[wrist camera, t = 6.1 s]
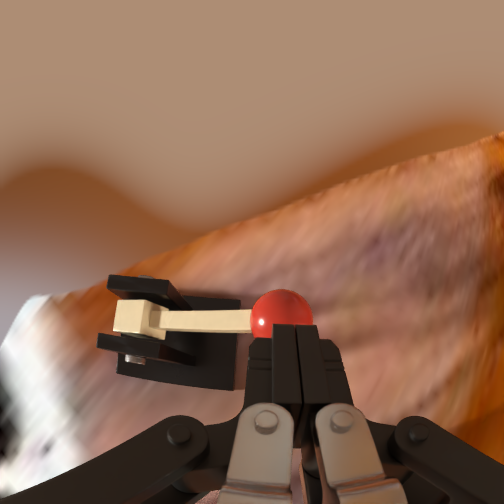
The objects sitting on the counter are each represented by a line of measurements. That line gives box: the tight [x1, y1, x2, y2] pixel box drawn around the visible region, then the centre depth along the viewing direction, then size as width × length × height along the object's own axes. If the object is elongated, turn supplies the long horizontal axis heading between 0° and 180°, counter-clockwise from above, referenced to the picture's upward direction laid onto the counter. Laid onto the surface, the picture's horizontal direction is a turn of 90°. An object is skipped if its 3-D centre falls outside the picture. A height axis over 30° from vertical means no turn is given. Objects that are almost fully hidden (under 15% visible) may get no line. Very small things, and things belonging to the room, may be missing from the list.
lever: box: [113, 289, 313, 340], centre depth 17 cm, size 13×3×3 cm, turn 86°
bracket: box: [96, 275, 241, 391], centre depth 24 cm, size 12×9×13 cm
